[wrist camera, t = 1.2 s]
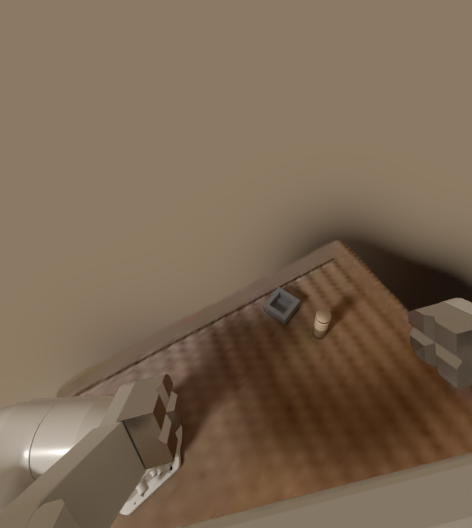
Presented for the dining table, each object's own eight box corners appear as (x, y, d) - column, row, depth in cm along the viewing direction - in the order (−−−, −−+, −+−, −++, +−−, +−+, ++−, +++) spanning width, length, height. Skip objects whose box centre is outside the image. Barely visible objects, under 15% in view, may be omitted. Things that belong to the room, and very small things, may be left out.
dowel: (321, 341, 72) (326, 325, 62) (309, 334, 74) (313, 316, 64) (328, 331, 74) (334, 313, 63) (316, 324, 75) (320, 305, 65)
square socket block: (285, 325, 77) (284, 320, 74) (264, 310, 81) (263, 305, 77) (299, 305, 80) (300, 300, 76) (278, 292, 83) (278, 286, 80)
